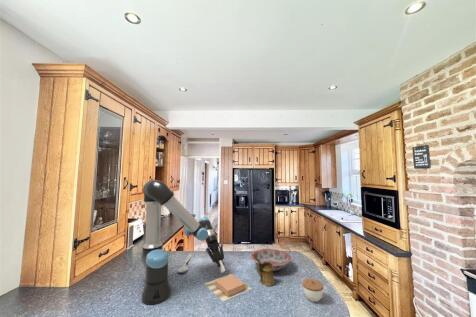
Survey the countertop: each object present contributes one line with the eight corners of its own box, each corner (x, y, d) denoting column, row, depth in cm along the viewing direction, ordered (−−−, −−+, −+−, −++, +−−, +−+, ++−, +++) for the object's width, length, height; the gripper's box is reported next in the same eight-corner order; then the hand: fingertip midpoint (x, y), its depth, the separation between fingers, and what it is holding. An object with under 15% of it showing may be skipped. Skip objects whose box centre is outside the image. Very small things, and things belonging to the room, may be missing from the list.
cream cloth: (204, 284, 120) (204, 283, 120) (230, 274, 132) (230, 273, 132) (223, 303, 103) (223, 301, 103) (251, 289, 115) (251, 288, 115)
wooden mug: (251, 280, 125) (251, 251, 127) (272, 278, 127) (271, 249, 129) (254, 287, 116) (254, 256, 118) (276, 286, 118) (275, 255, 120)
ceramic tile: (215, 280, 118) (228, 290, 106) (231, 274, 125) (245, 283, 114) (215, 286, 117) (228, 297, 106) (231, 279, 124) (245, 289, 113)
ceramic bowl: (290, 280, 124) (289, 267, 125) (246, 274, 133) (245, 261, 134) (292, 261, 151) (292, 251, 152) (256, 257, 161) (255, 247, 161)
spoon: (186, 275, 132) (186, 271, 133) (174, 275, 132) (174, 271, 132) (195, 256, 167) (195, 253, 167) (186, 256, 167) (186, 253, 167)
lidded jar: (321, 294, 110) (320, 276, 111) (325, 306, 99) (324, 286, 100) (301, 291, 112) (301, 274, 113) (303, 303, 102) (303, 284, 103)
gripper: (216, 238, 143) (229, 271, 128) (200, 242, 135) (212, 277, 121) (220, 233, 139) (234, 265, 125) (203, 236, 131) (216, 272, 117)
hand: (223, 271), depth 123 cm, fingers closed
